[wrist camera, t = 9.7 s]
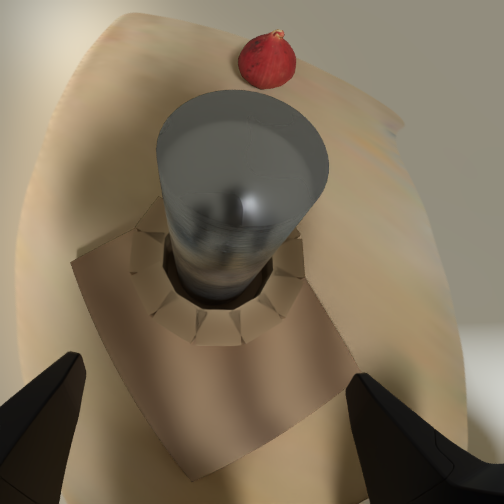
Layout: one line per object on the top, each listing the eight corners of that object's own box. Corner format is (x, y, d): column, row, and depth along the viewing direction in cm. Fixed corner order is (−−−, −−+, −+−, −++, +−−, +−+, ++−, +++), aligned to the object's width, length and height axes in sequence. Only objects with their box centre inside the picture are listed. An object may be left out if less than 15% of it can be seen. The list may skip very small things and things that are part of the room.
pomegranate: (238, 104, 27) (253, 41, 20) (230, 72, 29) (241, 15, 21) (291, 104, 28) (315, 47, 21) (278, 74, 30) (296, 21, 23)
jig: (191, 475, 16) (192, 501, 12) (76, 267, 19) (53, 248, 15) (354, 373, 20) (385, 375, 17) (240, 187, 24) (249, 157, 20)
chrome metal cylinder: (213, 320, 19) (248, 267, 7) (162, 267, 19) (122, 140, 7) (264, 270, 21) (357, 161, 8) (215, 221, 21) (245, 73, 9)
